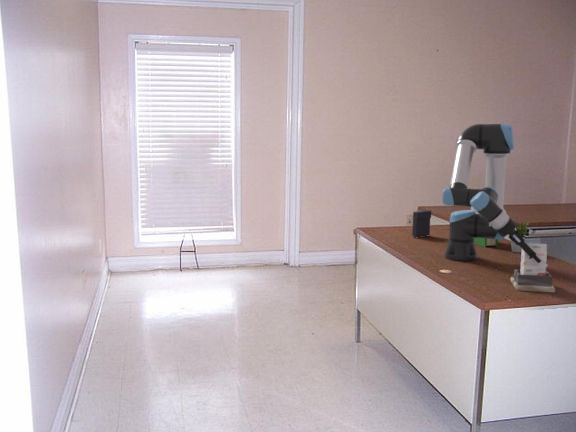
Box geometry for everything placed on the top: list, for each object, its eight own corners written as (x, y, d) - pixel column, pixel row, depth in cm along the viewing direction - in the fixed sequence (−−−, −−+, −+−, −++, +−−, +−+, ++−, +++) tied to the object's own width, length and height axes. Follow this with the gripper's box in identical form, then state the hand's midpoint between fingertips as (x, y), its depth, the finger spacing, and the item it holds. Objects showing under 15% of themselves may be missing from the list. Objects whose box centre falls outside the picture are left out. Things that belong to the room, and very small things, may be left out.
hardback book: (497, 246, 288) (500, 202, 284) (484, 247, 287) (487, 202, 283) (481, 239, 306) (484, 197, 301) (469, 240, 305) (471, 197, 300)
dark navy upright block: (424, 234, 319) (425, 209, 316) (430, 236, 315) (431, 210, 313) (411, 237, 313) (412, 211, 310) (416, 238, 309) (417, 212, 307)
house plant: (514, 246, 288) (516, 216, 286) (538, 251, 277) (540, 220, 274) (497, 250, 281) (499, 219, 278) (521, 255, 269) (523, 223, 267)
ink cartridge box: (541, 276, 221) (544, 241, 218) (545, 280, 216) (548, 244, 213) (519, 275, 222) (521, 240, 219) (522, 279, 217) (525, 243, 215)
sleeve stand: (510, 280, 228) (511, 267, 227) (546, 282, 225) (547, 269, 224) (516, 290, 214) (517, 276, 213) (555, 292, 211) (556, 278, 210)
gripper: (491, 225, 228) (530, 265, 227) (498, 234, 210) (541, 277, 210) (506, 213, 226) (545, 254, 225) (514, 221, 208) (556, 265, 208)
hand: (543, 265), depth 217 cm, fingers closed on ink cartridge box, 5 cm apart
